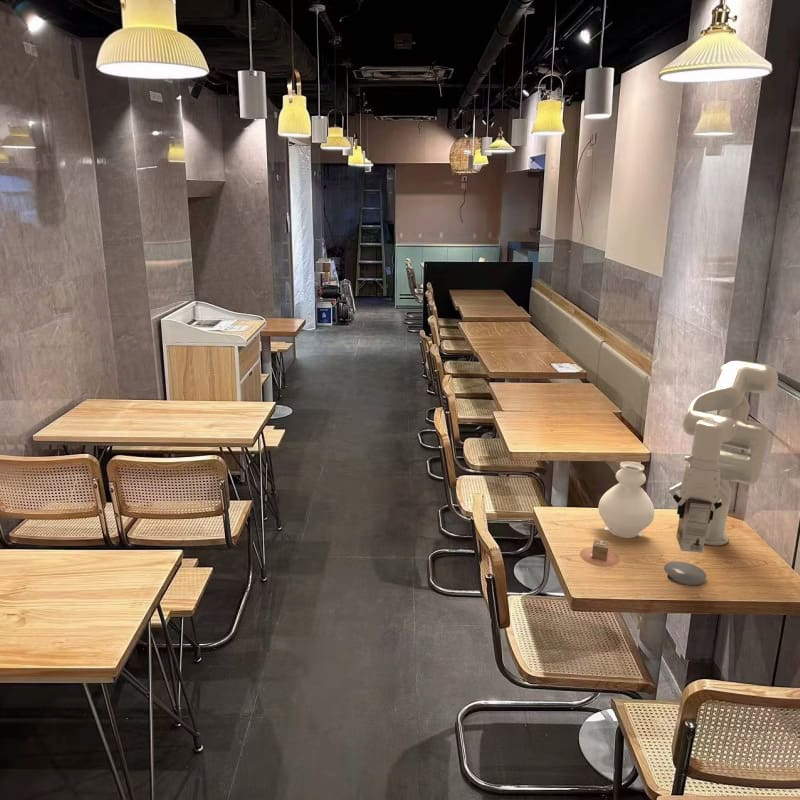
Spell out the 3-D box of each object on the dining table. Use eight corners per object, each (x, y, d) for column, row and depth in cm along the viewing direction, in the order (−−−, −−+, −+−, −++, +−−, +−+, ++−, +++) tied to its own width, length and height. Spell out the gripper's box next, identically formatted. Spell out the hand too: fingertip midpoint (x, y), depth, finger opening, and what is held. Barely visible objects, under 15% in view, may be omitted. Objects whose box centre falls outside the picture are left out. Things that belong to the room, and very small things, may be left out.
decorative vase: (648, 526, 241) (658, 459, 233) (652, 551, 224) (663, 479, 217) (595, 519, 245) (603, 453, 237) (595, 542, 228) (604, 472, 221)
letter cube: (592, 551, 220) (594, 538, 218) (607, 554, 218) (609, 541, 217) (591, 558, 216) (593, 544, 214) (606, 561, 214) (608, 547, 213)
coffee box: (675, 536, 212) (683, 488, 208) (697, 539, 211) (706, 490, 206) (680, 551, 204) (689, 500, 199) (703, 553, 202) (713, 503, 198)
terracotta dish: (581, 547, 225) (581, 544, 224) (620, 554, 221) (620, 551, 220) (577, 564, 214) (577, 561, 213) (617, 573, 210) (618, 569, 210)
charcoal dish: (663, 561, 217) (663, 558, 217) (704, 569, 214) (705, 566, 213) (663, 580, 207) (663, 577, 206) (706, 589, 203) (707, 585, 202)
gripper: (671, 462, 199) (662, 518, 204) (738, 472, 194) (727, 530, 199) (671, 453, 206) (662, 508, 211) (735, 463, 200) (725, 519, 205)
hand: (694, 518), depth 205 cm, fingers closed on coffee box, 6 cm apart
